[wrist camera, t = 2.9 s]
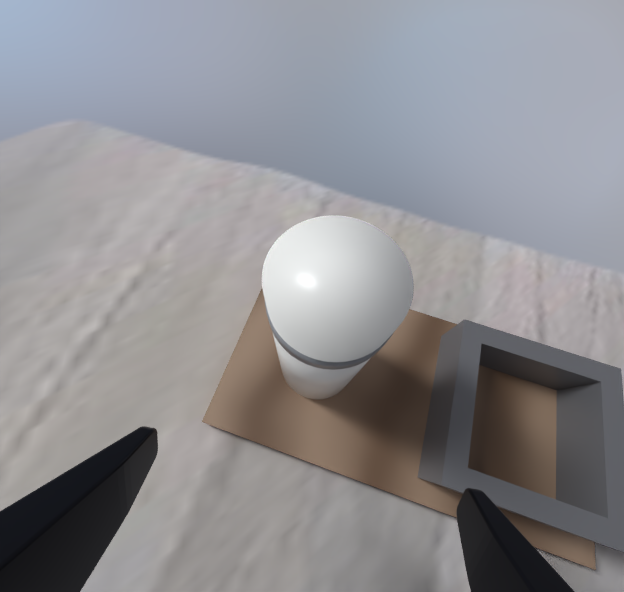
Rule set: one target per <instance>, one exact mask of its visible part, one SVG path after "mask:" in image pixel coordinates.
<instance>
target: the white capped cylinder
mask: <svg viewBox="0 0 624 592" xmlns="http://www.w3.org/2000/svg"><path fill="white" fill-rule="evenodd" d="M262 288H263V294H264V298H265V307H266V313H267V317H268V321H269V324H270V327H271V330H272V332H273V336H274V340H275V344H276V349H277V353H278V357H279V361H280V365H281V370H282V373H283V376H284V378H285V380H286V382H287V384H288V385H289V386H290V387H291V388H292V389H293V390H294V391H295V392H296V393H298V394H299V395H301V396H303V397H306V398H310V399H326V398H329V397H332V396H334V395H336V394H338V393H339V392H340V391H341V390H343V389H344V388H345V386H346V385H347V384H348V383H349V382H350V381H351V380H352V379H353V377H354V376H355V375H356V374H357V373H358V372H359V371H360V370H361V368H362V367H363V366H364V365H365V364H366V363H367V362H368V361H369V359H370V358H371V357H373V356H374V355H375V354H376V353H377V352H378V351H379V350H380V349H381V348H382V347H383V346H384V345H385V344H386V343H387V341H388V340H389V339H390V337H391V336H392V335H393V333H394V331H395V330H396V329H397V328H398V327H399V325H400V324H401V323H402V322H403V320H404V319H405V317H406V315H407V313H408V311H409V308H410V306H411V303H412V298H413V289H414V284H413V276H412V271H411V268H410V265H409V262H408V260H407V258H406V256H405V254H404V253H403V251H402V250H401V248H400V247H399V246H398V244H397V243H396V242H395V241H394V240H393V239H392V238H391V237H390V236H389V235H387V234H386V233H385V232H383V231H382V230H381V229H379V228H377V227H376V226H374V225H372V224H370V223H368V222H365V221H363V220H359V219H356V218H352V217H347V216H336V215H333V216H321V217H315V218H312V219H308V220H305V221H303V222H300V223H298V224H297V225H295V226H293V227H291V228H290V229H288V230H287V231H286V232H284V233H283V234H282V235H281V236H280V237H279V238H278V239H277V240H276V242H275V243H274V244H273V246H272V247H271V249H270V250H269V252H268V254H267V257H266V259H265V262H264V266H263V271H262Z"/></svg>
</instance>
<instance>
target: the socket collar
mask: <svg viewBox="0 0 624 592" xmlns="http://www.w3.org/2000/svg"><path fill="white" fill-rule="evenodd" d="M479 365H481V366H484V367H487V368H490V369H493V370H497V371H500V372H503V373H506V374H509V375H512V376H515V377H518V378H521V379H524V380H527V381H530V382H533V383H536V384H539V385H542V386H545V387H548V388H551V389H554V390H557V408H556V499H553V498H550V497H547V496H545V495H542V494H539V493H536V492H534V491H531V490H528V489H525V488H522V487H520V486H517V485H514V484H511V483H509V482H506V481H503V480H500V479H497V478H495V477H492V476H489V475H486V474H484V473H481V472H478V471H475V470H472V469H470V468H468V461H469V452H470V443H471V434H472V425H473V416H474V407H475V398H476V389H477V380H478V371H479ZM417 477H418V478H420V479H423V480H426V481H428V482H431V483H434V484H437V485H439V486H442V487H445V488H447V489H450V490H453V491H456V492H458V493H461V494H463V493H464V491H465V489H467V488H472V489H478V490H481V491H483V492H484V493H485V494H486V495H487V496H488V497H489V498H490V500H491V501H492V502H493V503H494V504H495V505H496V506H497V507H499V508H502V509H504V510H507V511H510V512H513V513H515V514H518V515H521V516H523V517H526V518H529V519H532V520H534V521H537V522H540V523H542V524H545V525H548V526H551V527H553V528H556V529H559V530H561V531H564V532H567V533H570V534H572V535H575V536H578V537H581V538H584V539H586V540H589V541H592V542H595V543H598V544H601V545H604V546H607V547H610V548H613V549H615V550H618V551H621V552H624V401H623V388H622V375H621V369H620V368H617V367H613V366H610V365H607V364H604V363H601V362H598V361H594V360H591V359H588V358H585V357H582V356H579V355H575V354H572V353H569V352H566V351H563V350H560V349H556V348H553V347H550V346H547V345H544V344H541V343H537V342H534V341H531V340H528V339H525V338H522V337H518V336H515V335H512V334H509V333H506V332H503V331H499V330H496V329H493V328H490V327H487V326H484V325H480V324H477V323H474V322H471V321H468V320H463V321H462V322H460V323H459V324H457V325H456V326H455V327H453V328H452V329H450V330H449V331H448V332H446V333H445V334H444V335H442V336H441V340H440V346H439V352H438V358H437V364H436V370H435V376H434V382H433V388H432V394H431V400H430V406H429V411H428V417H427V423H426V429H425V435H424V441H423V447H422V453H421V459H420V465H419V471H418V476H417Z"/></svg>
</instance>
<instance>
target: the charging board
mask: <svg viewBox="0 0 624 592" xmlns="http://www.w3.org/2000/svg"><path fill="white" fill-rule="evenodd" d="M456 325H457V324H454V323H451V322H448V321H445V320H442V319H439V318H436V317H432V316H429V315H426V314H423V313H420V312H417V311H414V310H410V309H409V311H408V313H407V315H406V317H405V319H404V320H403V322H402V323H401V324H400V325H399V327H398V328H397V329H396V330H395V331H394V333H393V335H392V336H391V337H390V339H389V340H388V341H387V343H386V344H385V345H384V346H383V347H382V348H381V349H380V350H379V351H378V352H377V353H376V354H375V355H374V356H373V357H371V358H370V359H369V361H368V362H367V363H366V364H365V365H364V366H363V367H362V368H361V370H360V371H359V372H358V373H357V374H356V375H355V376H354V377H353V379H352V380H351V381H350V382H349V383H348V384H347V385H346V386H345V388H344V389H343V390H341V391H340V392H339V393H338V394H336V395H334V396H332V397H329V398H326V399H310V398H306V397H303V396H301V395H299V394H298V393H296V392H295V391H294V390H293V389H292V388H291V387H290V386H289V385H288V384H287V382H286V380H285V378H284V376H283V373H282V370H281V365H280V361H279V357H278V353H277V349H276V344H275V340H274V336H273V332H272V330H271V327H270V324H269V321H268V317H267V313H266V307H265V298H264V294H263V288H262V289H261V291H260V294H259V296H258V298H257V300H256V303H255V305H254V307H253V309H252V311H251V314H250V316H249V318H248V320H247V323H246V325H245V327H244V329H243V331H242V334H241V336H240V338H239V340H238V343H237V345H236V347H235V349H234V351H233V354H232V356H231V358H230V360H229V363H228V365H227V367H226V369H225V371H224V374H223V376H222V378H221V380H220V383H219V385H218V387H217V389H216V391H215V394H214V396H213V398H212V400H211V403H210V405H209V407H208V409H207V411H206V414H205V416H204V418H203V420H202V422H204V423H206V424H209V425H211V426H214V427H217V428H219V429H222V430H225V431H227V432H230V433H233V434H235V435H238V436H241V437H243V438H246V439H249V440H251V441H254V442H257V443H259V444H262V445H265V446H267V447H270V448H273V449H275V450H278V451H281V452H283V453H286V454H289V455H291V456H294V457H297V458H299V459H302V460H304V461H307V462H310V463H312V464H315V465H318V466H320V467H323V468H326V469H328V470H331V471H334V472H336V473H339V474H342V475H344V476H347V477H350V478H352V479H355V480H358V481H360V482H363V483H366V484H368V485H371V486H374V487H376V488H379V489H382V490H384V491H387V492H390V493H392V494H395V495H398V496H400V497H403V498H405V499H408V500H411V501H413V502H416V503H419V504H421V505H424V506H427V507H429V508H432V509H435V510H437V511H440V512H443V513H445V514H448V515H451V516H453V517H456V518H457V515H456V510H457V506H458V504H459V501H460V499H461V497H462V495H463V494H461V493H458V492H456V491H453V490H450V489H447V488H445V487H442V486H439V485H437V484H434V483H431V482H428V481H426V480H423V479H420V478H418V477H417V476H418V471H419V465H420V459H421V453H422V447H423V441H424V435H425V429H426V423H427V417H428V411H429V406H430V400H431V394H432V388H433V382H434V376H435V370H436V364H437V358H438V352H439V346H440V340H441V336H442V335H444V334H445V333H446V332H448V331H449V330H450V329H452V328H453V327H455V326H456ZM556 408H557V390H554V389H551V388H548V387H545V386H542V385H539V384H536V383H533V382H530V381H527V380H524V379H521V378H518V377H515V376H512V375H509V374H506V373H503V372H500V371H497V370H493V369H490V368H487V367H484V366H481V365H479V371H478V380H477V389H476V398H475V407H474V416H473V425H472V434H471V443H470V452H469V461H468V468H470V469H472V470H475V471H478V472H481V473H484V474H486V475H489V476H492V477H495V478H497V479H500V480H503V481H506V482H509V483H511V484H514V485H517V486H520V487H522V488H525V489H528V490H531V491H534V492H536V493H539V494H542V495H545V496H547V497H550V498H553V499H556ZM498 508H499V507H498ZM499 509H500V511H501V512H502V513H503V514H504V515H505V516H506V517H507V518H508V519H509V520H510V521H511V523H512V524H513V525H514V526H515V527H516V528H517V529H518V530H519V531H520V532H521V534H522V535H523V536H524V537H525V538H526V539H527V540H528V541H529V542H530V543H531V544H532V546H533V547H536V548H538V549H541V550H544V551H546V552H549V553H552V554H554V555H557V556H560V557H562V558H565V559H568V560H570V561H573V562H576V563H578V564H581V565H584V566H586V567H589V568H591V569H594V570H596V569H595V542H592V541H589V540H586V539H584V538H581V537H578V536H575V535H572V534H570V533H567V532H564V531H561V530H559V529H556V528H553V527H551V526H548V525H545V524H542V523H540V522H537V521H534V520H532V519H529V518H526V517H523V516H521V515H518V514H515V513H513V512H510V511H507V510H504V509H502V508H499Z"/></svg>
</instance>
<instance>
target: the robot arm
mask: <svg viewBox="0 0 624 592" xmlns="http://www.w3.org/2000/svg"><path fill="white" fill-rule="evenodd" d="M157 451H158V441H157V430H156V429H155V428H150V427H140V428H138V429H137V430H135V431H133V432H132V433H130V434H128V435H127V436H125V437H123V438H122V439H120V440H118V441H117V442H115V443H113V444H112V445H110V446H108V447H107V448H105V449H103V450H102V451H100V452H98V453H97V454H95V455H93V456H92V457H90V458H88V459H87V460H85V461H83V462H82V463H80V464H78V465H77V466H75V467H73V468H72V469H70V470H68V471H67V472H65V473H63V474H62V475H60V476H58V477H57V478H55V479H53V480H52V481H50V482H48V483H47V484H45V485H43V486H42V487H40V488H38V489H37V490H35V491H33V492H32V493H30V494H28V495H27V496H25V497H23V498H22V499H20V500H18V501H17V502H15V503H13V504H12V505H10V506H8V507H7V508H5V509H3V510H2V511H0V592H80V591H81V589H82V588H83V586H84V584H85V583H86V581H87V579H88V578H89V576H90V575H91V573H92V571H93V570H94V568H95V566H96V565H97V563H98V562H99V560H100V558H101V557H102V555H103V553H104V552H105V550H106V549H107V547H108V545H109V544H110V542H111V540H112V539H113V537H114V536H115V534H116V532H117V531H118V529H119V527H120V526H121V524H122V523H123V521H124V519H125V517H126V516H127V514H128V512H129V510H130V508H131V506H132V504H133V502H134V500H135V498H136V496H137V494H138V492H139V490H140V488H141V486H142V484H143V482H144V480H145V478H146V476H147V474H148V472H149V470H150V468H151V466H152V464H153V462H154V460H155V458H156V455H157ZM456 515H457V521H458V527H459V532H460V538H461V544H462V549H463V555H464V560H465V566H466V571H467V576H468V581H469V585H470V589H471V592H574V591H573V589H572V588H571V587H570V586H569V585H568V584H567V583H566V582H565V581H564V580H563V578H562V577H561V576H560V575H559V574H558V573H557V572H556V571H555V570H554V569H553V568H552V566H551V565H550V564H549V563H548V562H547V561H546V560H545V559H544V558H543V557H542V555H541V554H540V553H539V552H538V551H537V550H536V549H535V548H534V547H533V546H532V544H531V543H530V542H529V541H528V540H527V539H526V538H525V537H524V536H523V535H522V534H521V532H520V531H519V530H518V529H517V528H516V527H515V526H514V525H513V524H512V523H511V521H510V520H509V519H508V518H507V517H506V516H505V515H504V514H503V513H502V512H501V511H500V509H499V508H498V507H497V506H496V505H495V504H494V503H493V502H492V501H491V500H490V498H489V497H488V496H487V495H486V494H485V493H484V492H483V491H481V490H478V489H472V488H467V489H465V491H464V493H463V495H462V497H461V499H460V501H459V504H458V506H457V510H456Z"/></svg>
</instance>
